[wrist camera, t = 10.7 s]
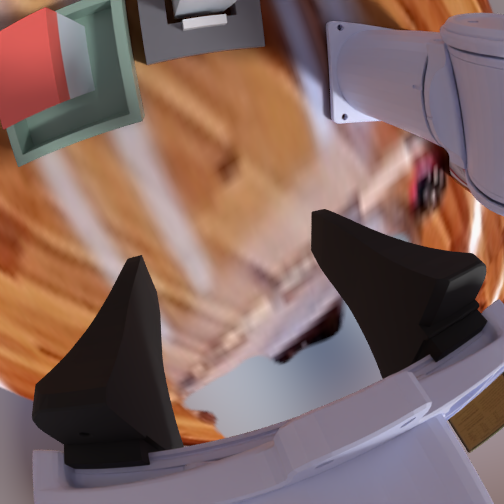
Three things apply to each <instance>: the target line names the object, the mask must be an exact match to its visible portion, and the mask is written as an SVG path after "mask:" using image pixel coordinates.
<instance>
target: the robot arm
mask: <svg viewBox="0 0 504 504" xmlns="http://www.w3.org/2000/svg"><path fill="white" fill-rule="evenodd" d="M338 25H339V26H340V28H341V30H340V31H339V30H338V28H337V26H338ZM326 36H327V48H328V62H329V79H330V103H331V119H332V121H333V122H335V123H338V124H340V123H353V122H368V121H383V122H386V123H388V124H391V125H393V126H396V127H398V128H401V129H403V130H405V131H408V132H410V133H412V134H415V135H417V136H419V137H422V138H424V139H426V140H428V141H430V142H432V143H434V144H437V145H439V146H441V147H443V148H445V149H446V150H447V152H448V154H449V157H450V161H451V162H452V163H454V164H456V165H458V166H459V167H461V168H463V169H465V177H466V182H467V185H468V188H469V190H470V191H471V193H472V195H473V196H474V197H475V198H476V199H477V200H478V201H479V202H480V203H481V204H482V205H484V206H485V207H486V208H488V209H489V210H491V211H493V212H495V213H497V214H499V215H502V216H504V14H495V13H467V14H460V15H455V16H452V17H449V18H448V19H447V21H446V22H445V24H444V25H443V26H442V27H441V28H440V33H439V32H427V31H411V30H394V29H389V28H383V27H378V26H371V25H365V24H357V23H349V22H340V21H329V22H327V24H326ZM343 114H345V117H344V119H342V115H343ZM311 251H312V253H313V255H314V257H315V259H316V261H317V262H318V264H319V266H320V268H321V269H322V271H323V272H324V274H325V275H326V276H327V278H328V279H329V280H330V282H331V283H332V284H333V286H334V287H335V289H336V290H337V291H338V293H339V294H340V295H341V297H342V298H343V300H344V301H345V302H346V304H347V305H348V307H349V308H350V310H351V311H352V313H353V315H354V317H355V319H356V320H357V322H358V324H359V326H360V328H361V330H362V332H363V334H364V336H365V338H366V340H367V342H368V344H369V346H370V349H371V351H372V353H373V355H374V358H375V360H376V362H377V365H378V368H379V370H380V373H381V375H382V378H383V379H382V380H380V381H378V382H376V383H374V384H372V385H370V386H368V387H365V388H363V389H361V390H359V391H357V392H355V393H352V394H350V395H348V396H346V397H343V398H341V399H339V400H336V401H334V402H331V403H329V404H327V405H324V406H321V407H319V408H316V409H314V410H311V411H309V412H307V413H305V414H303V415H300V416H298V417H295V418H292V419H289V420H286V421H284V422H280V423H277V424H274V425H271V426H268V427H265V428H261V429H258V430H254V431H251V432H247V433H244V434H240V435H236V436H233V437H229V438H225V439H220V440H216V441H212V442H207V443H203V444H198V445H193V446H188V447H184V446H183V443H182V440H181V437H180V434H179V430H178V427H177V424H176V420H175V416H174V413H173V409H172V405H171V401H170V397H169V392H168V388H167V383H166V378H165V373H164V367H163V359H162V342H161V321H160V309H159V302H158V296H157V291H156V289H155V287H154V284H153V282H152V279H151V277H150V275H149V272H148V270H147V267H146V265H145V262H144V260H143V257H142V255H140V256H136V257H132V258H129V259H127V261H126V263H125V265H124V267H123V268H122V270H121V272H120V274H119V276H118V278H117V280H116V282H115V284H114V286H113V288H112V290H111V292H110V294H109V295H108V297H107V299H106V301H105V302H104V304H103V306H102V307H101V309H100V311H99V313H98V314H97V316H96V317H95V319H94V320H93V322H92V323H91V325H90V326H89V327H88V329H87V330H86V332H85V333H84V334H83V335H82V337H81V338H80V339H79V340H78V342H77V343H76V344H75V345H74V347H73V348H72V349H71V350H70V351H69V352H68V354H67V355H66V356H65V357H64V358H63V359H62V360H61V361H60V362H59V363H58V364H57V365H56V366H55V367H54V368H53V369H52V370H51V371H50V372H49V373H48V374H47V375H46V376H45V377H43V378H42V379H41V380H40V381H39V382H38V383H37V384H36V386H35V393H34V402H33V411H32V419H33V421H34V423H35V424H36V425H37V426H38V428H40V429H41V430H42V431H43V432H45V433H47V434H48V435H50V436H51V437H53V438H54V439H56V440H57V441H59V442H61V443H62V444H64V452H61V451H57V450H33V488H34V489H33V490H34V504H494V503H493V501H492V499H491V497H490V495H489V494H488V492H487V490H486V488H485V486H484V484H483V482H482V481H481V479H480V477H479V475H478V473H477V472H476V470H475V468H474V466H473V465H472V463H471V461H470V459H469V458H468V456H467V455H466V453H465V451H464V449H463V448H462V446H461V444H460V443H459V441H458V439H457V438H456V436H455V434H454V433H453V431H452V430H451V428H450V427H449V425H448V423H447V420H448V419H450V418H451V417H452V416H453V415H455V414H456V413H457V412H459V411H460V410H461V409H462V408H463V407H465V406H466V405H467V404H468V403H469V402H471V401H472V400H473V399H474V398H475V397H476V396H478V395H479V394H480V393H481V392H482V391H483V390H484V389H485V388H487V387H488V386H489V385H490V384H491V383H492V382H493V381H494V380H495V379H496V378H497V377H498V376H499V375H500V374H502V373H503V372H504V304H503V303H502V302H501V301H500V300H497V301H495V302H494V303H493V304H491V305H490V306H489V307H487V308H486V309H485V310H484V311H483V312H482V314H481V313H480V312H479V311H478V310H477V309H478V308H479V303H478V302H477V301H476V300H475V298H476V296H477V294H478V292H479V290H480V288H481V286H482V284H483V281H484V279H485V276H486V265H485V264H484V263H483V262H482V261H481V260H480V259H479V258H477V257H476V256H475V255H474V254H472V253H462V252H452V251H445V250H439V249H434V248H429V247H424V246H420V245H416V244H412V243H409V242H405V241H402V240H399V239H396V238H393V237H390V236H387V235H385V234H382V233H380V232H377V231H375V230H372V229H370V228H368V227H365V226H363V225H361V224H359V223H356V222H354V221H352V220H350V219H347V218H345V217H343V216H341V215H339V214H336V213H334V212H331V211H329V210H326V209H322V210H318V211H313V212H312V231H311Z"/></svg>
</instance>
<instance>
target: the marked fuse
mask: <svg viewBox="0 0 504 504" xmlns="http://www.w3.org/2000/svg"><path fill="white" fill-rule="evenodd" d="M92 91H95V87H94V82H93V77H92V72H91V66H90V60H89V54H88V48H87V41H86V34H85V26H83V25H81V24H79V23H77V22H75V21H73V20H71V19H69V18H67V17H65V16H63V15H61V14H59V13H57V12H55V11H53V10H51V9H48V8H46V7H45V8H43V9H41V10H38V11H36V12H34V13H32V14H30V15H28V16H26V17H25V18H23V19H21V20H19V21H17V22H15V23H13V24H12V25H10V26H8V27H6V28H5V29H3V30H1V31H0V120H1V124H2V128H3V130H4V129H6V128H8V127H10V126H12V125H14V124H16V123H18V122H20V121H22V120H24V119H26V118H28V117H30V116H32V115H35V114H37V113H39V112H41V111H43V110H46V109H48V108H50V107H53V106H55V105H57V104H60V103H62V102H65V101H67V100H70V99H73V98H75V97H78V96H81V95H83V94H86V93H89V92H92Z"/></svg>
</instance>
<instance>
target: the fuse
mask: <svg viewBox="0 0 504 504" xmlns="http://www.w3.org/2000/svg"><path fill="white" fill-rule="evenodd" d="M236 1H237V0H172V8H173V15H174V20H175V19H181V18H187V17H193V16H200V15H208V14H216V13H223V12H224V11H225V10H226V9H227V8H229V7H230V6H231V5H232V4H233V3H235V2H236Z"/></svg>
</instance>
